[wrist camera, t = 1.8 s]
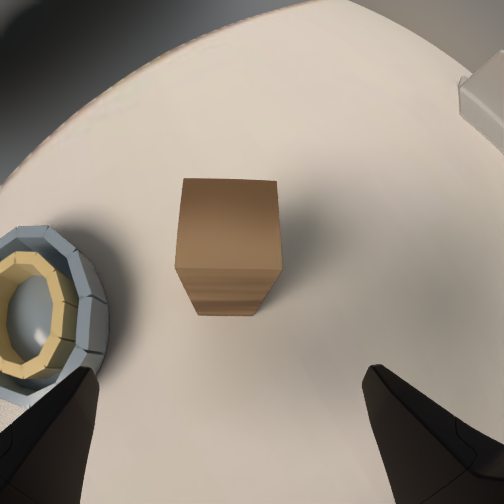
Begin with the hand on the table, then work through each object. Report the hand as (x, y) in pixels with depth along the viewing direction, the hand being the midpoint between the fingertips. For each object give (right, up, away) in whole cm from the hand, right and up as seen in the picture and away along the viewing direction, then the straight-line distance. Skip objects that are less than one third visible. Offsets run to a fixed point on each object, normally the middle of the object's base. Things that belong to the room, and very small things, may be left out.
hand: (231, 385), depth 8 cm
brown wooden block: (-1, +1, +13) cm, 14 cm away
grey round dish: (-17, -2, +11) cm, 20 cm away
